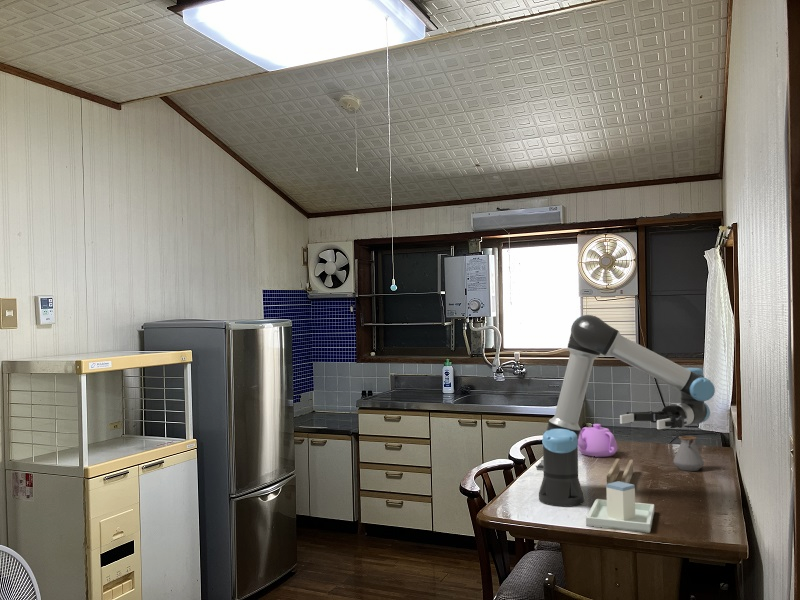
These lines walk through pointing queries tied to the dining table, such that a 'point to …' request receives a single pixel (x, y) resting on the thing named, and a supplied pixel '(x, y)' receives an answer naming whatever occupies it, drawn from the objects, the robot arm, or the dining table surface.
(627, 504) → the white boxy piece
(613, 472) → the wooden napkin holder
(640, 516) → the tray
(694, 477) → the dining table surface
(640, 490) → the dining table surface
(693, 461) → the coffee pot
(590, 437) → the teapot
